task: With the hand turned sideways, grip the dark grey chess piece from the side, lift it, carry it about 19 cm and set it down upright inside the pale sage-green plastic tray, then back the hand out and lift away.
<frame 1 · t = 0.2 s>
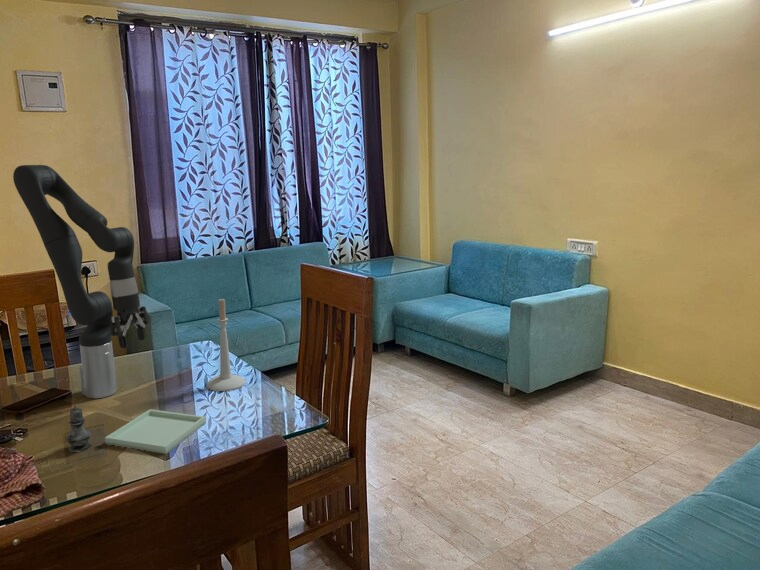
hand: (133, 343, 178), 18 cm above the table, tool pointing down, fingers open, 8 cm apart
tray: (157, 433, 157), on the table
dark grey chess piece: (79, 448, 149), on the table
candlestick: (226, 384, 193), on the table
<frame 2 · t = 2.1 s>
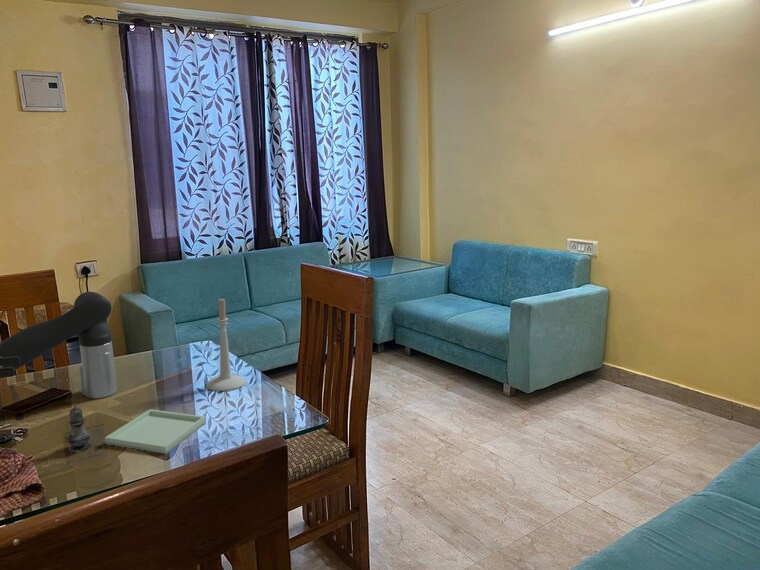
hand: (16, 365, 140), 24 cm above the table, tool horizontal, fingers open, 8 cm apart
nothing on the table moved.
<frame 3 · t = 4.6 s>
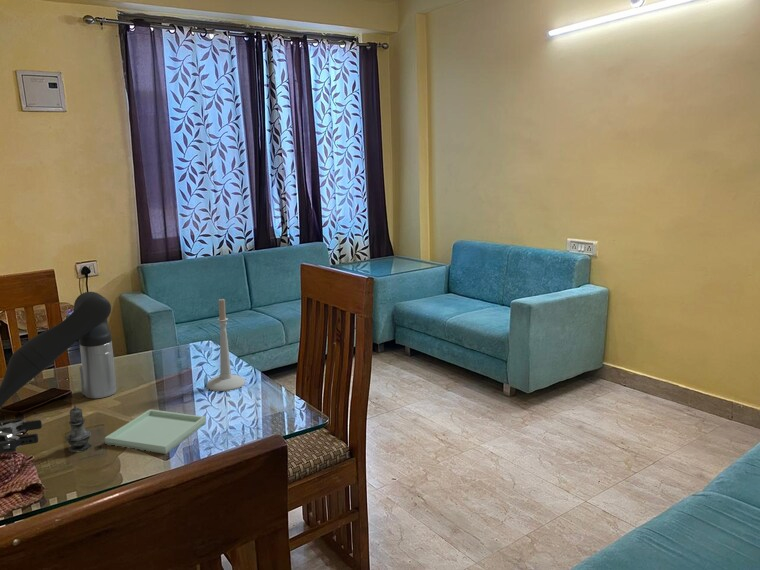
hand: (39, 430, 144), 7 cm above the table, tool horizontal, fingers open, 8 cm apart
nothing on the table moved.
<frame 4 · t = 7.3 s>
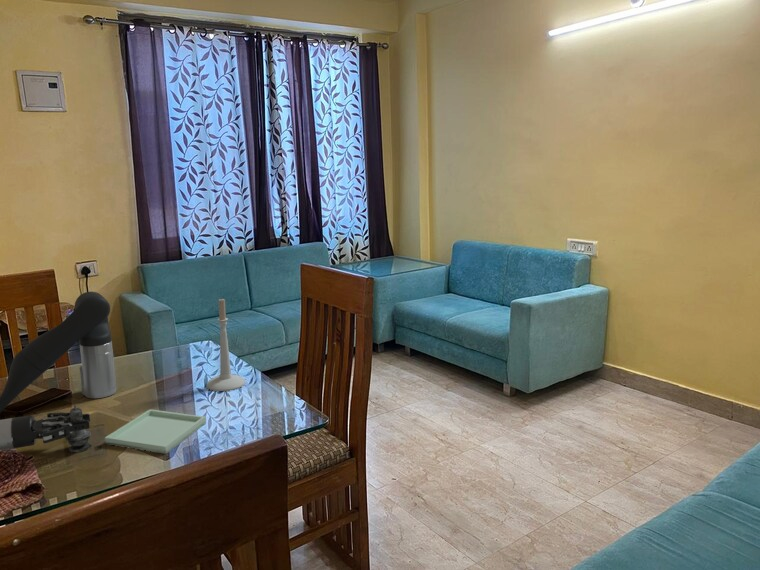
hand: (89, 420, 149), 7 cm above the table, tool horizontal, fingers closed on dark grey chess piece, 3 cm apart
dark grey chess piece: (79, 448, 149), on the table, touching gripper
everything else where it was.
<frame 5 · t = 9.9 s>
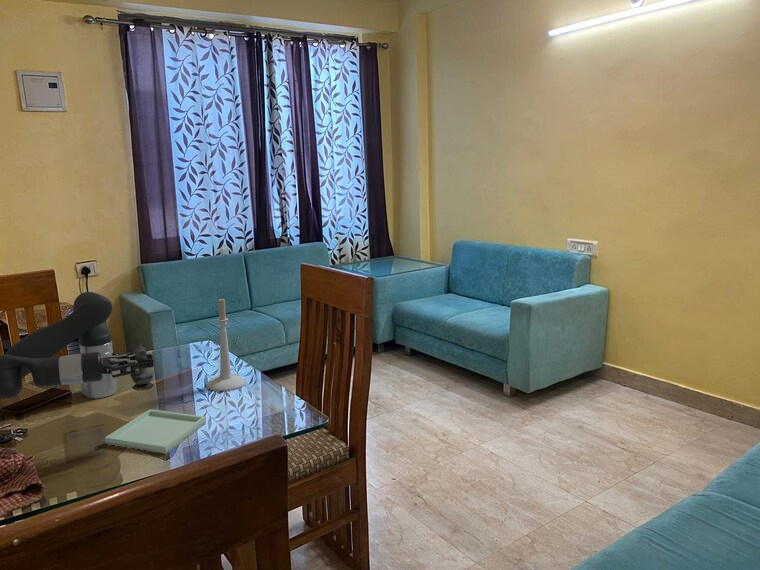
hand: (152, 360, 153), 21 cm above the table, tool horizontal, fingers closed on dark grey chess piece, 3 cm apart
dark grey chess piece: (143, 387, 153), point 14 cm above the table, touching gripper
everything else where it was.
when the fingers open (9 cm above the table, at t = 12.9 s): dark grey chess piece drops 1 cm, resting on tray.
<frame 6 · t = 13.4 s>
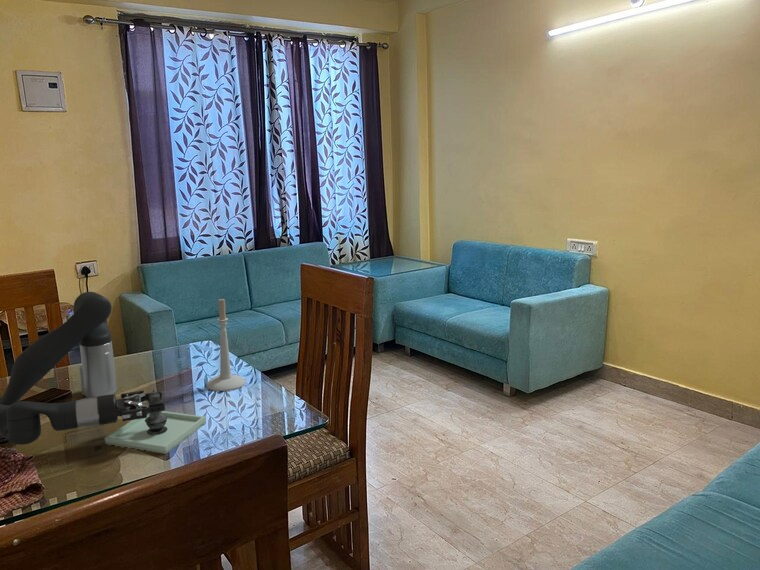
hand: (162, 400, 156), 9 cm above the table, tool horizontal, fingers open, 8 cm apart
dark grey chess piece: (157, 431, 157), point 1 cm above the table, touching tray
everything else where it was.
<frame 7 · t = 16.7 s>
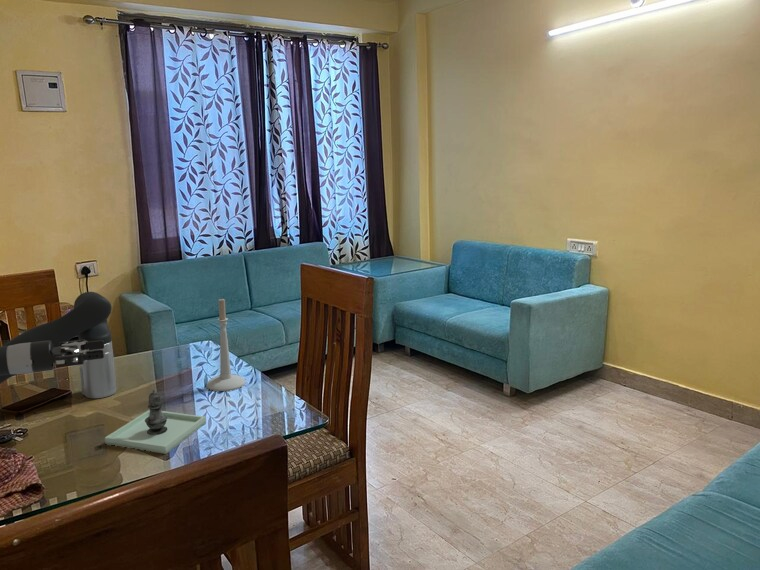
hand: (103, 348, 147), 26 cm above the table, tool horizontal, fingers open, 8 cm apart
nothing on the table moved.
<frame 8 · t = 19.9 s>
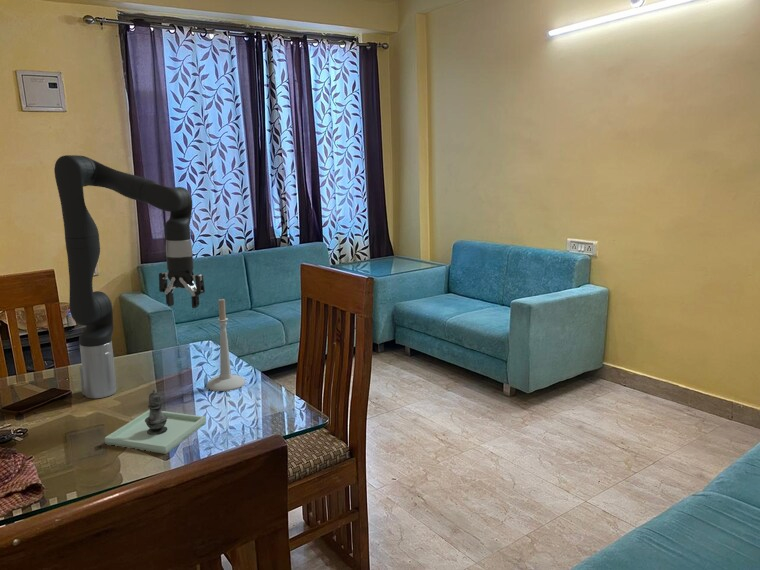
hand: (183, 306, 175), 30 cm above the table, tool pointing down, fingers open, 8 cm apart
nothing on the table moved.
at the end: dark grey chess piece inside the target area on the tray (0.1 cm from its centre), point 0.6 cm above the tray's base; dark grey chess piece tilted 0°; the gripper is holding nothing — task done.
